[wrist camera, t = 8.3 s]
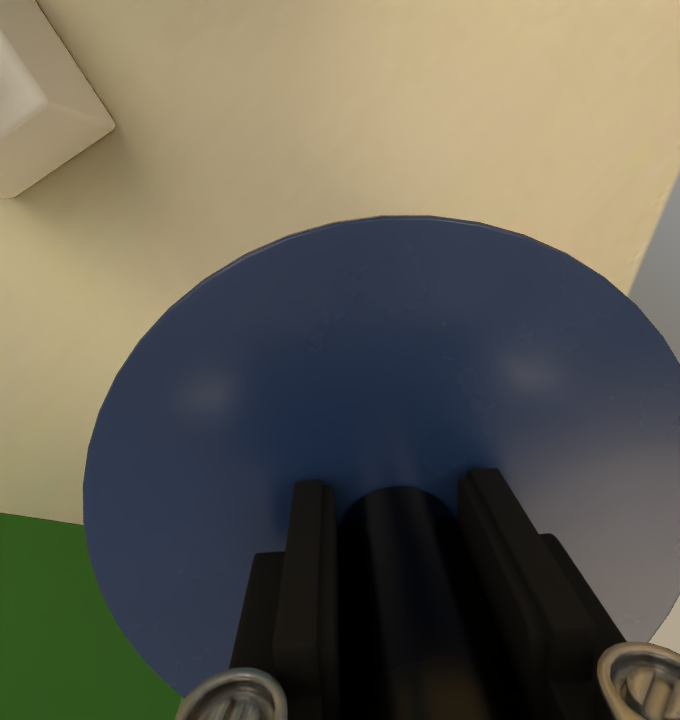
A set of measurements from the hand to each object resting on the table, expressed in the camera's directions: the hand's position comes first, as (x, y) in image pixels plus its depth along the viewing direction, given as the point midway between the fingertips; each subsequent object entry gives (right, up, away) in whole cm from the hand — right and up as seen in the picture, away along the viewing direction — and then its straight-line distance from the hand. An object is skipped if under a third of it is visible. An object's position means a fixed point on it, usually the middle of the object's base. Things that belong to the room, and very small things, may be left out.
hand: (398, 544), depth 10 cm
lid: (0, 0, +1) cm, 1 cm away
